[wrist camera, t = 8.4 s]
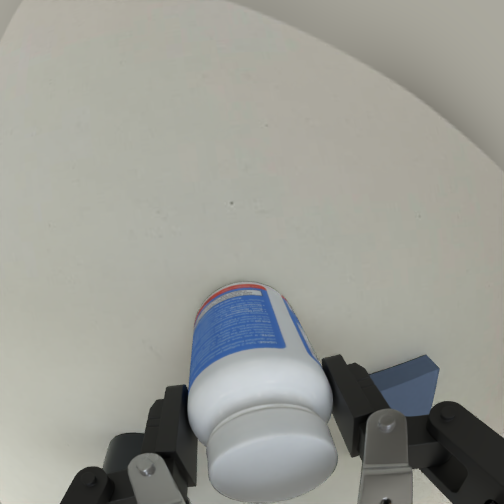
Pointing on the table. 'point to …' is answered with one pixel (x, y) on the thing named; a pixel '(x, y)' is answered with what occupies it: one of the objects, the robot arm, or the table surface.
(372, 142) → the table surface
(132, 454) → the black cylinder
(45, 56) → the table surface
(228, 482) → the pill bottle
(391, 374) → the blue rectangular block
